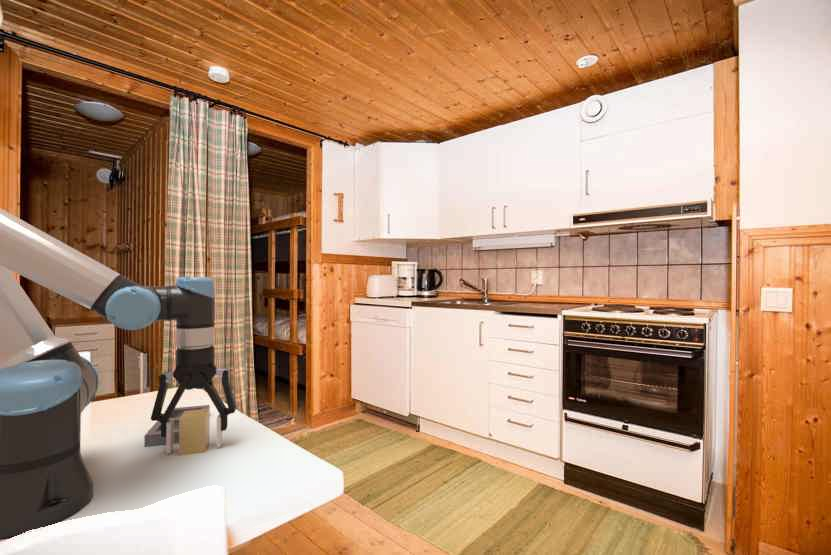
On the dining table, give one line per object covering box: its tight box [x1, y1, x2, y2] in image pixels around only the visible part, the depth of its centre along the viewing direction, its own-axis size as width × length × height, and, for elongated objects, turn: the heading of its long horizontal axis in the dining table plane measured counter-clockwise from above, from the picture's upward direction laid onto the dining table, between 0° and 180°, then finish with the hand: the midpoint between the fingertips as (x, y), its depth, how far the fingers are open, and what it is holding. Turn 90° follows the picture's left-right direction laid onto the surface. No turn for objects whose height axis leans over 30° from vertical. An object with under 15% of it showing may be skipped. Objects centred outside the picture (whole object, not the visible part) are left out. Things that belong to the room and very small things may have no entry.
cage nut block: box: [178, 409, 210, 456], centre depth 88 cm, size 5×5×8 cm
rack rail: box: [144, 404, 211, 448], centre depth 101 cm, size 20×10×2 cm, turn 18°
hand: (195, 447), depth 88 cm, fingers open, 9 cm apart
